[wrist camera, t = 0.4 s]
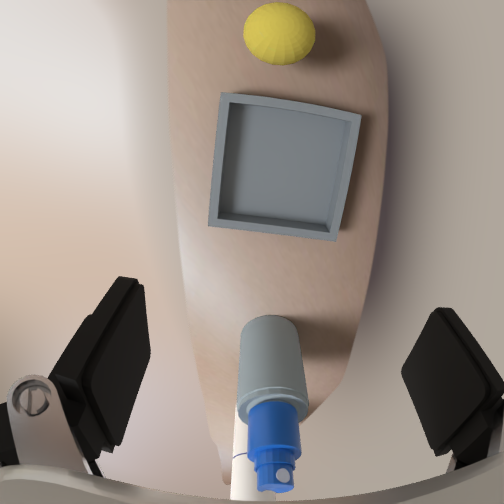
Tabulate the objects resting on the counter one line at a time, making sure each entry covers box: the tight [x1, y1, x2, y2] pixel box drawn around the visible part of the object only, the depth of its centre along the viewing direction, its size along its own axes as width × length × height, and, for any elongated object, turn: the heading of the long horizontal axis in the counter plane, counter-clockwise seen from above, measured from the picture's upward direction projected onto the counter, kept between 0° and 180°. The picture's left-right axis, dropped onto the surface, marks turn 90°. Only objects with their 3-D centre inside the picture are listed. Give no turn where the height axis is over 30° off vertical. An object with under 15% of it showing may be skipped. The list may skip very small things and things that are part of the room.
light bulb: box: [243, 2, 315, 65], centre depth 24 cm, size 7×7×10 cm
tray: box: [208, 92, 362, 242], centre depth 33 cm, size 15×15×4 cm
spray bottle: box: [237, 315, 309, 493], centre depth 35 cm, size 9×9×25 cm
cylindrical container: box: [230, 403, 276, 501], centre depth 43 cm, size 7×7×25 cm
